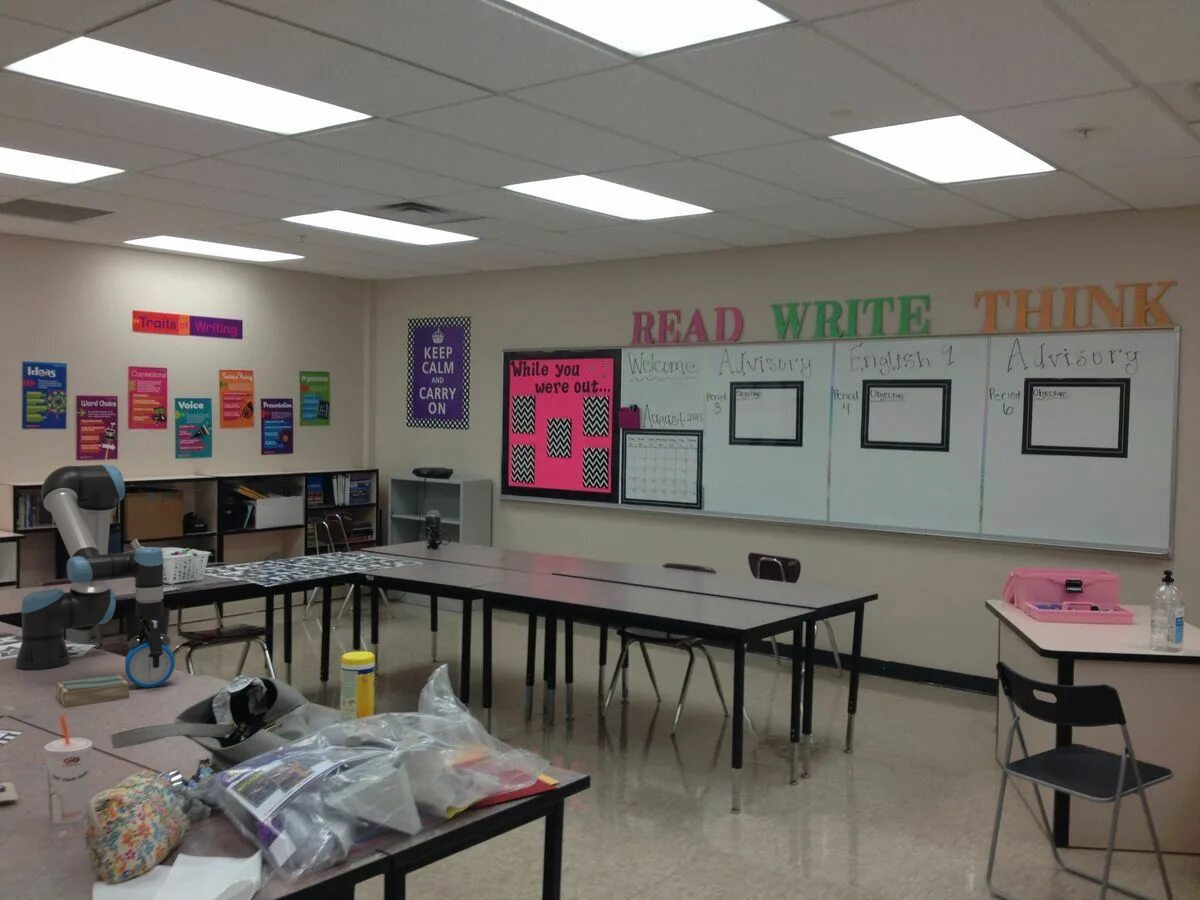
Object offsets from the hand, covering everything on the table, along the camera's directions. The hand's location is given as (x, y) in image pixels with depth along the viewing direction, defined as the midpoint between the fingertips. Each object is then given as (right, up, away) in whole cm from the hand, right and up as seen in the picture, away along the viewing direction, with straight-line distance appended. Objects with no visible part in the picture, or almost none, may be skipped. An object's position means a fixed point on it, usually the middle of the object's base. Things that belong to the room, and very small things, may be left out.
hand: (150, 674), depth 299 cm
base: (-11, -4, -13) cm, 17 cm away
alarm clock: (0, -4, 0) cm, 4 cm away
